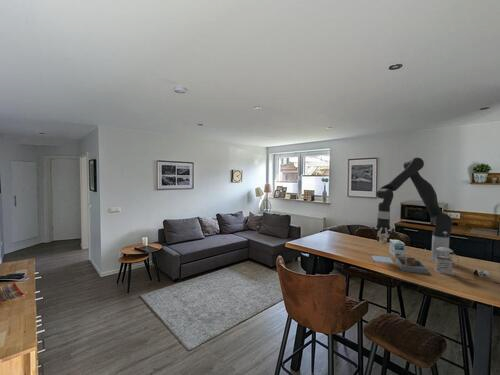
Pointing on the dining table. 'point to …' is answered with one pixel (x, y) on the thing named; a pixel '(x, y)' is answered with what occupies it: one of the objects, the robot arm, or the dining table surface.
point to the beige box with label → (382, 239)
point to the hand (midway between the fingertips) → (382, 241)
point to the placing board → (382, 259)
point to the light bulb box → (397, 248)
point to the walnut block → (409, 261)
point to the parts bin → (418, 266)
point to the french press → (442, 262)
